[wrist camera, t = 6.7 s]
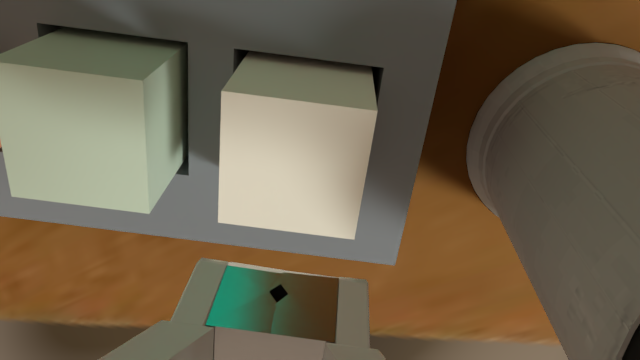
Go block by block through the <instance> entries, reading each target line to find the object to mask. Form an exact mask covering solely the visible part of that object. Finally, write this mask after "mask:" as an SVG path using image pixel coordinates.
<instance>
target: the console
mask: <svg viewBox="0 0 640 360" xmlns="http://www.w3.org/2000/svg"><path fill="white" fill-rule="evenodd" d="M456 2H457V0H0V54H1V53H4V52H6V51H8V50H11V49H13V48H16V47H18V46H20V45H23V44H25V43H28V42H30V41H32V40H35V39H37V38H39V37H42V36H44V35H47V34H49V33H51V32H54V31H56V30H58V29H61V28H63V27H73V28H81V29H89V30H96V31H104V32H112V33H119V34H127V35H135V36H142V37H150V38H158V39H166V40H173V41H181V42H188V139H189V154H188V155H187V157H186V158H185V160H184V161H183V163H182V165H181V166H180V168H179V169H178V171H177V172H176V174H175V175H174V177H173V178H172V180H171V181H170V183H169V184H168V186H167V188H166V189H165V191H164V192H163V194H162V195H161V197H160V198H159V200H158V201H157V203H156V204H155V206H154V207H153V209H152V211H151V212H150V214H146V213H138V212H130V211H122V210H114V209H106V208H98V207H90V206H82V205H74V204H66V203H58V202H51V201H43V200H35V199H27V198H19V197H12V196H11V191H10V186H9V181H8V176H7V171H6V166H5V161H4V156H3V151H2V147H1V148H0V216H4V217H12V218H20V219H28V220H36V221H44V222H52V223H60V224H68V225H76V226H84V227H92V228H100V229H108V230H116V231H124V232H132V233H140V234H148V235H156V236H164V237H172V238H180V239H188V240H196V241H204V242H212V243H220V244H228V245H236V246H244V247H252V248H260V249H268V250H276V251H284V252H292V253H299V254H307V255H315V256H323V257H331V258H339V259H347V260H355V261H363V262H371V263H379V264H387V265H395V263H396V259H397V255H398V250H399V246H400V242H401V237H402V233H403V229H404V225H405V220H406V216H407V212H408V207H409V203H410V199H411V195H412V190H413V186H414V182H415V177H416V173H417V169H418V165H419V160H420V156H421V152H422V147H423V143H424V139H425V135H426V130H427V126H428V122H429V117H430V113H431V109H432V105H433V100H434V96H435V92H436V87H437V83H438V79H439V75H440V70H441V66H442V62H443V57H444V53H445V49H446V45H447V40H448V36H449V32H450V27H451V23H452V19H453V15H454V10H455V6H456ZM249 50H250V51H258V52H266V53H274V54H281V55H289V56H297V57H304V58H312V59H320V60H328V61H335V62H343V63H351V64H358V65H366V66H371V67H372V75H373V82H374V89H375V96H376V103H377V110H378V112H377V117H376V123H375V128H374V134H373V140H372V145H371V151H370V156H369V162H368V167H367V173H366V178H365V184H364V189H363V195H362V200H361V206H360V211H359V217H358V222H357V228H356V234H355V239H354V240H352V239H344V238H336V237H328V236H320V235H312V234H305V233H297V232H289V231H281V230H273V229H265V228H257V227H249V226H241V225H233V224H225V223H218V198H219V160H220V121H221V91H222V89H223V88H224V86H225V85H226V83H227V82H228V81H229V79H230V78H231V76H232V75H233V73H234V72H235V71H236V69H237V68H238V66H239V65H240V63H241V62H242V60H243V59H244V58H245V56H246V55H247V53H248V52H249Z"/></svg>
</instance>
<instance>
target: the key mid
mask: <svg viewBox="0 0 640 360" xmlns="http://www.w3.org/2000/svg"><path fill="white" fill-rule="evenodd" d="M0 140H1V145H2V151H3V156H4V161H5V166H6V171H7V176H8V181H9V186H10V191H11V196H12V197H19V198H27V199H35V200H43V201H51V202H58V203H66V204H74V205H82V206H90V207H98V208H106V209H114V210H122V211H130V212H138V213H146V214H150V212H151V211H152V209H153V207H154V206H155V204H156V203H157V201H158V200H159V198H160V197H161V195H162V194H163V192H164V191H165V189H166V188H167V186H168V184H169V183H170V181H171V180H172V178H173V177H174V175H175V174H176V172H177V171H178V169H179V168H180V166H181V165H182V163H183V161H184V160H185V158H186V157H187V155H188V154H189V139H188V42H181V41H173V40H166V39H158V38H150V37H142V36H135V35H127V34H119V33H112V32H104V31H96V30H89V29H81V28H73V27H63V28H61V29H58V30H56V31H54V32H51V33H49V34H47V35H44V36H42V37H39V38H37V39H35V40H32V41H30V42H28V43H25V44H23V45H20V46H18V47H16V48H13V49H11V50H8V51H6V52H4V53H1V54H0Z"/></svg>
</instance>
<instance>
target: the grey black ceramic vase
mask: <svg viewBox="0 0 640 360" xmlns="http://www.w3.org/2000/svg"><path fill="white" fill-rule="evenodd" d="M466 162H467V168H468V174H469V178H470V180H471V183H472V185H473V188H474V190H475V192H476V193H477V195H478V196H479V198H480V199H481V201H482V202H483V203H484V204H485V205H486V206H487V207H488V208H489V209H490V210H491V211H492V212H493V213H494V214H495V215H497V216H498V217H500V220H501V222H502V224H503V226H504V228H505V230H506V232H507V234H508V236H509V238H510V240H511V242H512V244H513V246H514V248H515V250H516V252H517V254H518V257H519V259H520V261H521V263H522V265H523V267H524V269H525V271H526V273H527V275H528V277H529V279H530V281H531V283H532V285H533V287H534V289H535V291H536V294H537V296H538V298H539V300H540V302H541V304H542V306H543V308H544V310H545V312H546V314H547V316H548V318H549V320H550V322H551V324H552V326H553V328H554V330H555V333H556V335H557V337H558V339H559V341H560V343H561V345H562V347H563V349H564V351H565V353H566V355H567V357H568V359H569V360H640V53H639V52H637V51H636V50H634V49H630V48H627V47H623V46H619V45H616V44H606V43H585V44H574V45H570V46H566V47H562V48H558V49H555V50H552V51H550V52H547V53H545V54H543V55H540V56H538V57H535V58H534V59H532V60H530V61H529V62H527V63H525V64H524V65H522V66H520V67H519V68H517V69H516V70H515V71H513V72H512V73H511V74H510V75H509V76H507V77H506V78H505V79H504V80H503V81H501V82H500V84H499V85H498V86H497V87H496V88H495V89H494V90H493V91H492V93H491V94H490V95H489V96H488V97H487V99H486V100H485V102H484V103H483V105H482V107H481V108H480V110H479V111H478V113H477V115H476V118H475V120H474V122H473V125H472V127H471V130H470V134H469V138H468V143H467V157H466Z"/></svg>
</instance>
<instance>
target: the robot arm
mask: <svg viewBox="0 0 640 360" xmlns="http://www.w3.org/2000/svg"><path fill="white" fill-rule="evenodd" d="M99 360H386V359H385V357H384V356H383V355H382V353H381V352H380V351H379V350H376V349H370V331H369V296H368V282H367V281H366V280H363V279H354V278H345V277H339V278H338V277H330V276H322V275H315V274H307V273H299V272H292V271H284V270H279V269H273V268H267V267H260V266H254V265H248V264H241V263H235V262H227V261H220V260H213V259H206V258H201V259H200V260H199V261H198V262H197V264H196V266H195V268H194V270H193V272H192V275H191V277H190V279H189V281H188V283H187V285H186V288H185V290H184V292H183V294H182V296H181V299H180V301H179V303H178V305H177V307H176V310H175V312H174V314H173V316H172V318H171V320H170V321H163V320H161V321H160V322H158V323H156V324H155V325H153V326H151V327H150V328H148V329H147V330H145V331H143V332H142V333H140V334H139V335H137V336H135V337H134V338H132V339H131V340H129V341H127V342H126V343H124V344H123V345H121V346H119V347H118V348H116V349H115V350H113V351H111V352H110V353H108V354H107V355H105V356H103V357H102V358H100V359H99Z"/></svg>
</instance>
